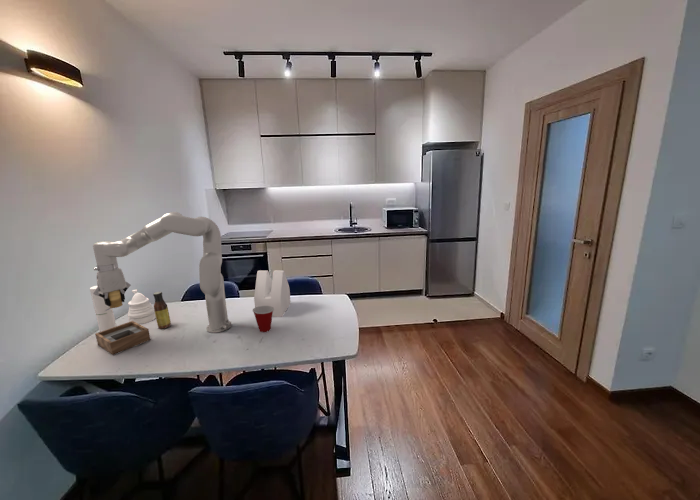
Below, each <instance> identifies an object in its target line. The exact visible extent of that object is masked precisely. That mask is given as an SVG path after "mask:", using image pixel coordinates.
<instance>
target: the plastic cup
mask: <svg viewBox="0 0 700 500" xmlns="http://www.w3.org/2000/svg"><path fill="white" fill-rule="evenodd" d="M273 310H274V307H272V306H258V307H255V306H254V308H252V312H253V315H254V317H255V321H256V324H257V327H258V328H257V329H258V330H259V332H260V333H267V331H268V332H269V330H270V329H272V319H273V317H272V313H273ZM270 331H271V330H270Z"/></svg>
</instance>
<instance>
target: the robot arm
mask: <svg viewBox="0 0 700 500" xmlns="http://www.w3.org/2000/svg"><path fill="white" fill-rule="evenodd" d="M172 233H175V234H179V235H186V236H190V237H202V251H203V252H202V253H203V254H202V257H201V259H200V260H199V264H198V265H199V267H198V268H199V269H198V270H199V271H198V272H199V287H200V290H201V292H202V293H203V294H204V295H205V296H204V297H205V298H204V299H205V304H206V312H207V319H208V325H207V326H206V332H208V333H211V334H213V333H216V334H217V333H222V332H225V331H227V330H229V329H230V328H231V327H232V325H233V323H232V321H230V320H229V316H228V308H227V302H226V292H225V281H224V276H223V274H222V273H221V271H222V270H221V267H222V263H223V256H222V253H223V251H222V236H221V230H220V228H219V226H218V225H217V224H216V222H215V221H213V220H212V219H210V218H208V217H205V216H196V217H189V216H184V215H182V213H180V212H178V211H171V212H167V213H164V214H163V215H162V216H160V217H159V218H157V219H154V220H153V221H151V222H150V223H147V224H146V225H144V226H143V227H142V228H141V229H140V230H137V231H136V232H134V233H132V234H131V235H128V236H127V237H124V238H122V239H120V240H116V241H110V240H104V241H98V242H95V243H93V245H92V248H93V253H94V257H95V263H96V266H95V267H93V271H97V272H96V286H98V287H97V288H96V290H95V291H94V293H93V294H94V295H97V296H100V297H102V298H104V301H105V305H107V306H111V304H110V299H109V298H108V293H109V292H113V291H117V290H120V294H121V299H122V303H125V300H126V296H125V294H126V293H127V292H126V291H127V290H128V289H129V288H130V287H131V286H132V285H131V284H130V283H129V282H127V281H126V277H125V274H124V272H123V269H122V268H120V267H119V265H118V264H119V263H118V259H117V258H123V257H124V258H125V257H128V256H129V255H131V254H132V253H134V252H136V251H138V250H140V249H141V248H143V247H145V246H147V245H149V244H151V243H153V242H157V241H158V240H161V239H162V238H164V237H166V236H168V235H169V234H172ZM99 291H100V292H102V293H103V294H100V293H99Z"/></svg>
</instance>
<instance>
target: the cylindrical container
mask: <svg viewBox="0 0 700 500" xmlns="http://www.w3.org/2000/svg"><path fill="white" fill-rule="evenodd" d="M97 287H98V286H97V285H93V286H91V287H89V292H90V295H91V300H92V304H93V309H94V313H95V316H96V321H97V325H98V330H99V332H102V331H104V330H107V329H110V328H113V327H116V326H117V323H116V318H115V314H114V310H113V309H114V308H110V306H107V305H105V301H104V298H102V297H100V296H97V295H94V294H93V293H94V291H95V290H96V288H97ZM99 293H100V294H103V293H102V292H100V291H99Z"/></svg>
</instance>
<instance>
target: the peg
mask: <svg viewBox="0 0 700 500" xmlns="http://www.w3.org/2000/svg"><path fill="white" fill-rule="evenodd" d="M108 298H109V299H110V304H111V306H110V308H112V309H117V308H120V307H122V306H123V302H122V299H121V294H120V290H117V291H113V292H109V293H108Z"/></svg>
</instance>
